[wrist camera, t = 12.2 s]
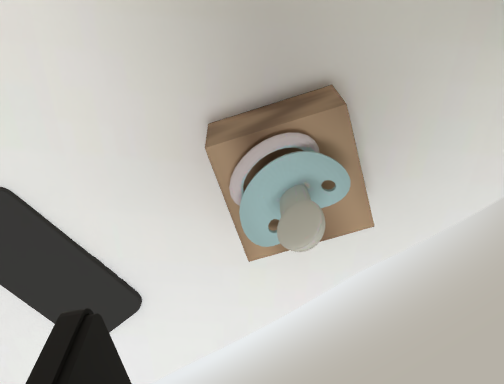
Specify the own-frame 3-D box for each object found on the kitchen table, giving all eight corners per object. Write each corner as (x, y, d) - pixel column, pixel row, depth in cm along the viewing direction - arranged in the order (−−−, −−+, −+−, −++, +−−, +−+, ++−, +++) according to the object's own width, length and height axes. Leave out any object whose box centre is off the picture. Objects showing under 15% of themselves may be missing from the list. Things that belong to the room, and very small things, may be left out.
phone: (-4, 182, 35) (147, 303, 40) (1, 177, 35) (148, 297, 41) (-63, 240, 36) (88, 348, 42) (-57, 234, 37) (90, 342, 43)
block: (331, 83, 33) (346, 104, 29) (357, 193, 37) (374, 226, 32) (208, 122, 34) (204, 148, 29) (246, 225, 38) (248, 261, 33)
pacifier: (208, 179, 31) (268, 240, 33) (200, 228, 25) (273, 297, 27) (298, 107, 29) (355, 176, 31) (311, 141, 23) (380, 223, 25)
